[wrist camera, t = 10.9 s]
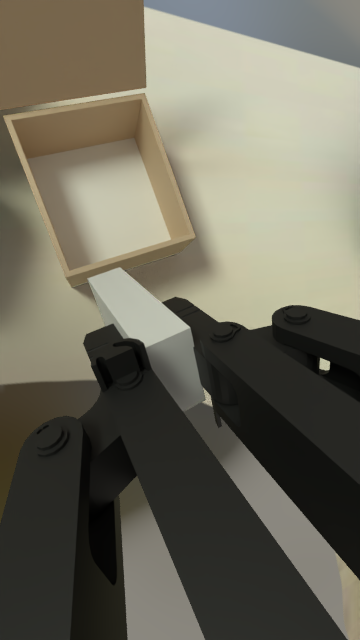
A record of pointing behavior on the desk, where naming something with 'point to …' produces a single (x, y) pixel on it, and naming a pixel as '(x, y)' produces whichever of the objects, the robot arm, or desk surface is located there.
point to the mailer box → (102, 184)
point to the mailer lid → (69, 49)
